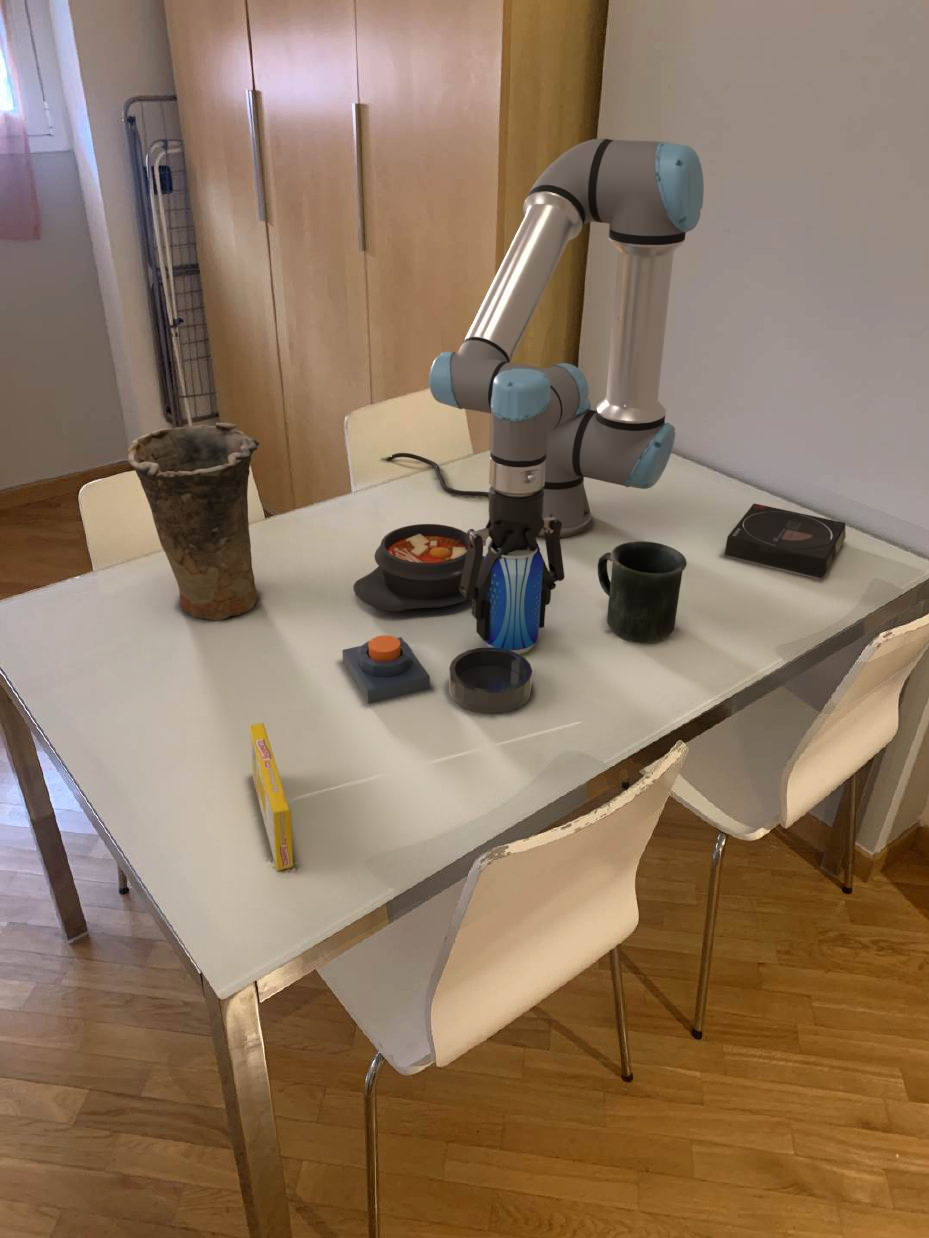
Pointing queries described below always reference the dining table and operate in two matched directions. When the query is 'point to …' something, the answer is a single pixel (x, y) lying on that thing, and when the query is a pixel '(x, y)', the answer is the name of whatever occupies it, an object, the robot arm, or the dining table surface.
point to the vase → (201, 513)
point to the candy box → (271, 798)
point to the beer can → (515, 601)
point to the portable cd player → (786, 541)
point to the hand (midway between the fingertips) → (510, 629)
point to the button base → (385, 673)
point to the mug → (642, 589)
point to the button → (384, 648)
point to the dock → (490, 680)
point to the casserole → (416, 569)
